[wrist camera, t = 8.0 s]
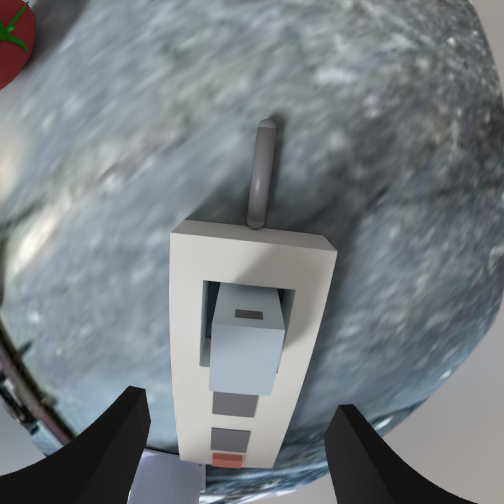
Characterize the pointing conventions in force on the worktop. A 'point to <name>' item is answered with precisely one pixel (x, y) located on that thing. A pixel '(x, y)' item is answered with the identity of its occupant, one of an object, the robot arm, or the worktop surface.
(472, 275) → the worktop surface
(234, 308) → the block
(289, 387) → the power strip
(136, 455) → the robot arm
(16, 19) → the tomato
